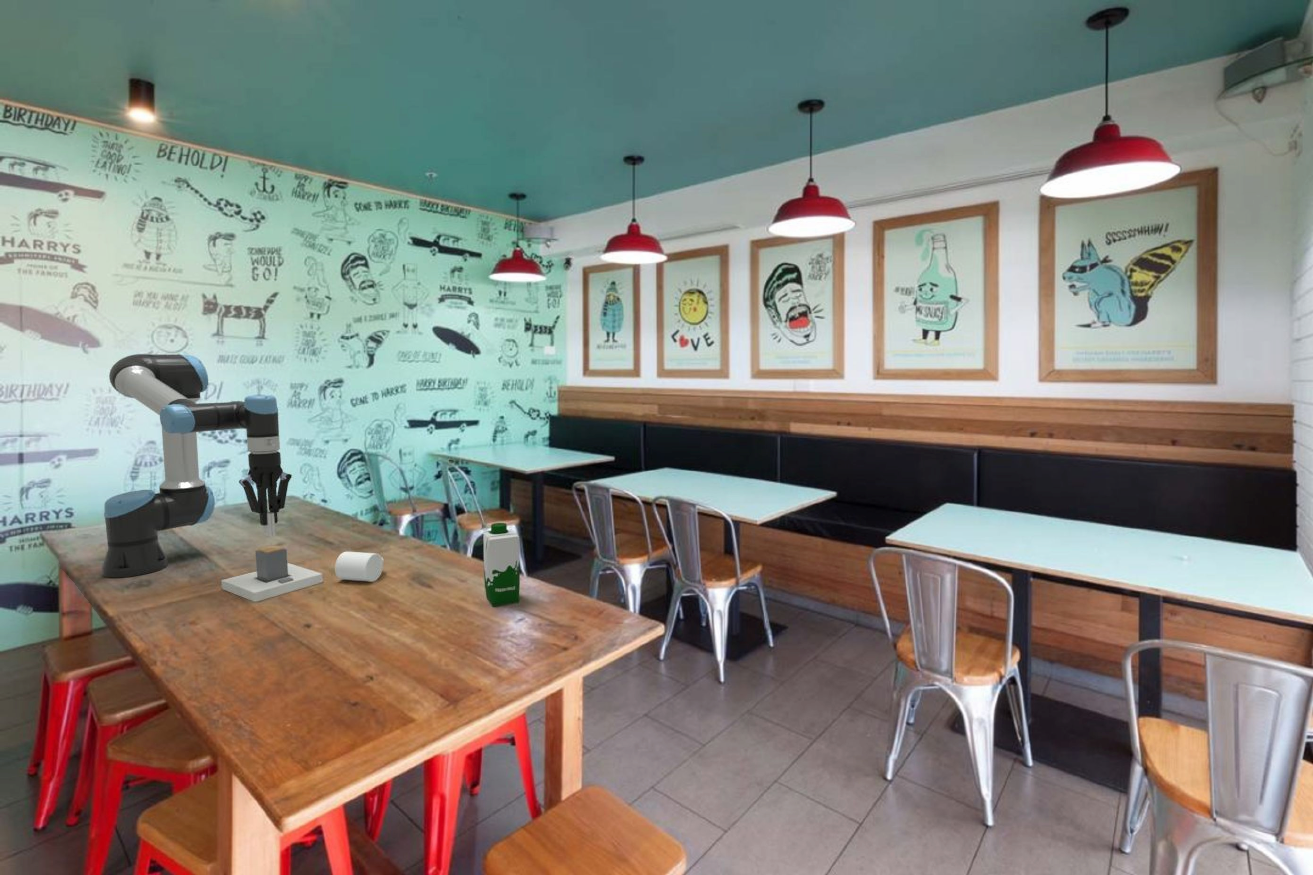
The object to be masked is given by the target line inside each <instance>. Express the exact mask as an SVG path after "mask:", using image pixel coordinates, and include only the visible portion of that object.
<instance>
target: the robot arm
mask: <svg viewBox="0 0 1313 875" xmlns="http://www.w3.org/2000/svg"><path fill="white" fill-rule="evenodd" d="M109 383H110V385H111V387H112V388H113V389H114V390H115V391H116V392H117V393H119V394H121V395H122V396H124V397H126V398H130V399H134V400H136V401H138V402H139V403H141V405H143V406H145V407H146V408H148V409H150V410H151V411H152V412H154V413H155V414H157V415H158V416H159V421H160V425H161V434H162V436H161V437H162V438H161V440H162V451H163V452H162V453H163V468H164V469H163V470H164V481H162V483H160V484H159V485H158V487H159V492H157V493H155V492H154V490H152V489H141V490H140V489H139V490H131V491H127V492H123V493H119V494H117V495H113V496H111V497H109V498H108V499H107V500H106V501H105V502H104V514H103V518H104V521H105V530H106V532H105V533H106V540H107V542H106V543H107V550H106V553H105V554H106V555H105V557H104V560H103V564H102V567H101V572H102V576H103V577H106V578H127V577H129V578H130V577H135V576H142V575H146V574H151V573H154V572H157V571H160V570H163V569H164V568H166V567H167V566H168V557H167V555H166V553H165V552H164V549H163V548H162V546H161V544H160V542H159V535H158V532H160V531H166V530H171V529H176V528H182V527H187V526H190V527H191V526H195V525H198V524H202V523H204V522H207V521H208V520H209V519H210V518H211V517H212V515H213V513H214V510H215V505H216V499H215V495H214V492H213V490H212V488H210V487H209V486H207V485H206V482H205V481H204V480H202V479H201V478H200V474H199V472H200V471H199V470H200V469H199V453H198V437H197V435H198V434H197V433H201V432H202V433H203V432H212V431H214V432H216V431H226V430H228V431H230V430H243V429H244V430H246V442H247V443H246V444H247V452H249V453H248V454H247V456H248V458H247V459H248V467H249V471H248V472H247V476H246V477H244V478H243V479H239V481H238V483H239V484H240V485H241V486H242V488H243V490H244V493H245V497H246V499H247V502H248V505H249V507H250V511H251V512H252V513H255V514H259V523H260V525H261V526H263V535H264V537H268V538H272V537H276V524H278V522H279V520H278V513H279V512H280V510H283V509H284V508H285V504H286V499H287V493H288V488H289V484H290V483H289V482H290V481H291V479H292V477H293V475H292V474H290V473H286V472H285V471H283V470H284V469H283V468H282V466H281V464H282V458H281V452H280V451H279V450H281V446H280V444H281V443H280V428H279V427H280V426H279V408H278V403H277V398H276V397H275V396H274V395H272V394H271V395H265V394H264V395H263V394H262V395H261V394H259V395H246V396H245V397H244V401H242V400H235V401H234V400H233V401H232V400H231V401H227V402H204V403H202V402H201V403H197V402H198V401H199V400H200V399H201V393H204V392H205V391H207V389H208V386H209V376H208V372H207V369H206V366H205V365H204V363H203V362H202V361H201V359H199V358H198V357H197V356H195V355H191V354H189V355H188V354H181V353H179V354H178V353H177V354H158V353H156V354H150V353H149V354H146V353H136V354H131V355H127V356H125V357H121V358H120V359H119V360H117V361H116V362H115V363H114V364H113V365H112V367H111V368H110V371H109ZM278 481H279V483H278ZM252 482H253V483H254V484H255V488H256V491H257V492H256V493H257V496H256V493H255V490H254V487H253V485H252V484H253V483H252ZM277 488H278V489H277Z"/></svg>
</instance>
